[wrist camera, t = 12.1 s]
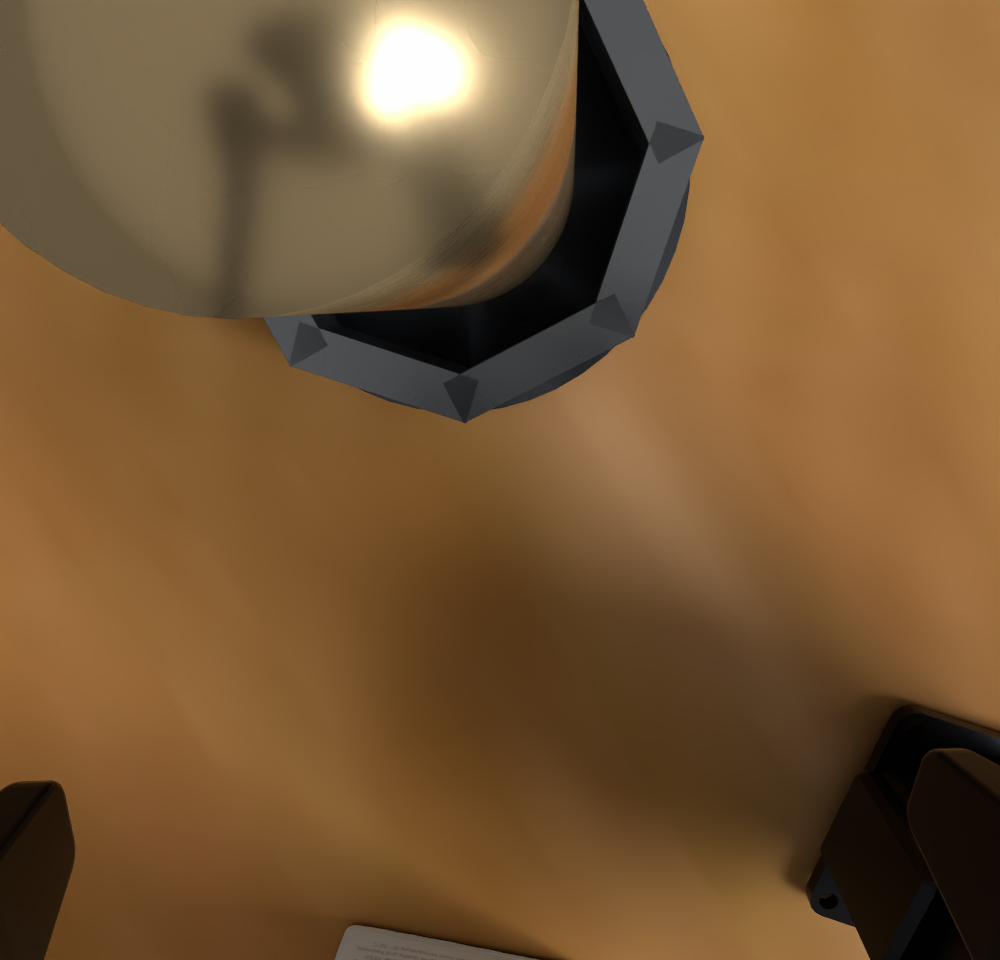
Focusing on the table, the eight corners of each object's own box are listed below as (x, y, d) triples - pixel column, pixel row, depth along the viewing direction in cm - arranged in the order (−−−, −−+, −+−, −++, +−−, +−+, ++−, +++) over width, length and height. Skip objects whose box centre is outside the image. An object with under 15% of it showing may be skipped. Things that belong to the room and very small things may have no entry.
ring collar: (759, 7, 17) (787, -36, 15) (597, 465, 19) (600, 485, 17) (292, -141, 17) (252, -205, 15) (193, 333, 20) (147, 337, 17)
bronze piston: (624, 183, 17) (748, -85, 5) (455, 355, 19) (239, 456, 6) (452, -4, 17) (149, -788, 5) (290, 185, 18) (-282, -50, 6)
